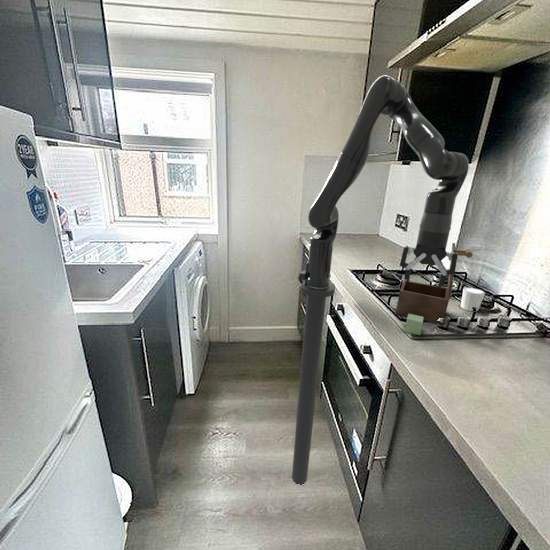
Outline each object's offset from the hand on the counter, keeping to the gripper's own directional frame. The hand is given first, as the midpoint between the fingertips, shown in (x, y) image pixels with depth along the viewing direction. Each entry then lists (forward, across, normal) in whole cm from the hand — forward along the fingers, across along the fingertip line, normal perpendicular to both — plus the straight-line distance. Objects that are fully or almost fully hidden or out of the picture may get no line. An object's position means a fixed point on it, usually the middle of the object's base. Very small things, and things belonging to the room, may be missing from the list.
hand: (423, 283), depth 89 cm
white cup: (+16, -17, -31) cm, 38 cm away
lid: (-1, -7, -16) cm, 17 cm away
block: (+15, 0, 0) cm, 15 cm away
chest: (+15, -1, -16) cm, 22 cm away
